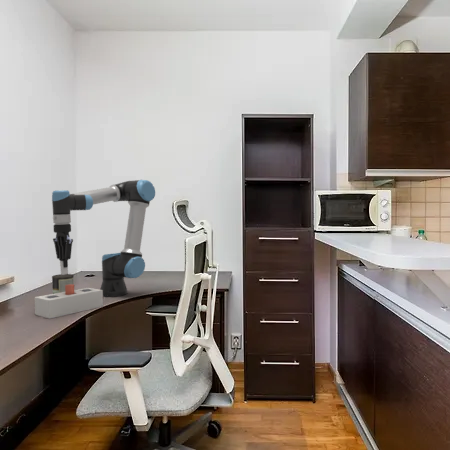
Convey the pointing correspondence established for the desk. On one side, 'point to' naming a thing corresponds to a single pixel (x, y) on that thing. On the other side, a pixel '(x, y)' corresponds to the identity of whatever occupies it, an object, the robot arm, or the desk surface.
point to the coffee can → (61, 282)
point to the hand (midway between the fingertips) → (64, 274)
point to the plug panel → (68, 303)
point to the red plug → (69, 289)
